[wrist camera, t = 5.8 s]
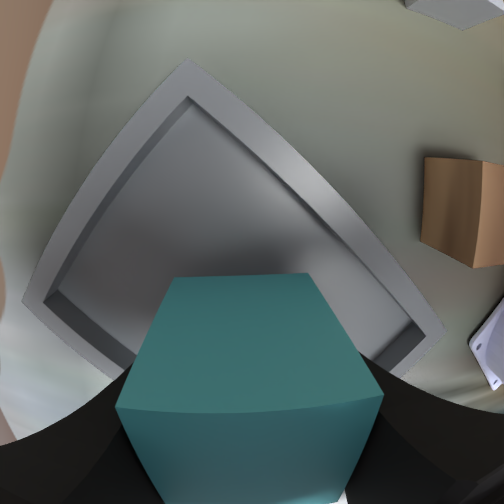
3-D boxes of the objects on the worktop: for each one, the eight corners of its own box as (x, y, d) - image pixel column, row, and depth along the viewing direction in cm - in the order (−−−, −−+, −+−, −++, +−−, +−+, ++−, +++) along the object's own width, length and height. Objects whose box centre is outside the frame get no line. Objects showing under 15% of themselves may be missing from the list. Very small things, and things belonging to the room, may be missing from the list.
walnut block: (477, 165, 12) (532, 173, 8) (472, 238, 13) (523, 261, 9) (423, 157, 11) (482, 161, 8) (419, 240, 13) (472, 268, 9)
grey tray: (427, 313, 14) (447, 330, 12) (272, 441, 16) (276, 465, 14) (194, 73, 10) (187, 57, 8) (42, 284, 12) (21, 301, 10)
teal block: (308, 272, 10) (384, 394, 4) (300, 375, 11) (337, 501, 6) (174, 277, 10) (114, 406, 4) (189, 379, 11) (169, 510, 5)
